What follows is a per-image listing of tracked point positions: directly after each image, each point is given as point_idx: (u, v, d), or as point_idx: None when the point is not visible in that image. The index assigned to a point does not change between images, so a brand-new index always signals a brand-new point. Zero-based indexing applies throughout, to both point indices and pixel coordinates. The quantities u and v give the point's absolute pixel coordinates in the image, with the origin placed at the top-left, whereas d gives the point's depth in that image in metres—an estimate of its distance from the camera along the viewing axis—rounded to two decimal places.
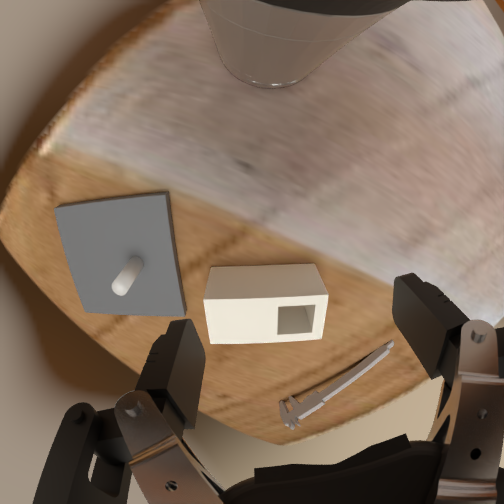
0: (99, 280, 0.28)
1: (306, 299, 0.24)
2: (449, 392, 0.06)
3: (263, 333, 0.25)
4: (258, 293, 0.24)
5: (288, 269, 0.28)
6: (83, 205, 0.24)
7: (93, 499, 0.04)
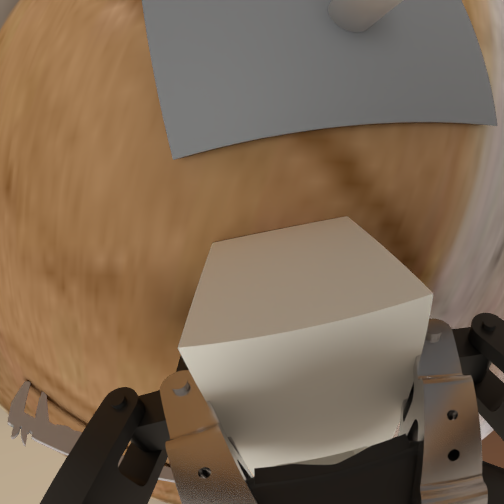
0: None
1: None
2: (411, 393, 0.06)
3: (277, 451, 0.07)
4: None
5: None
6: None
7: (118, 487, 0.04)
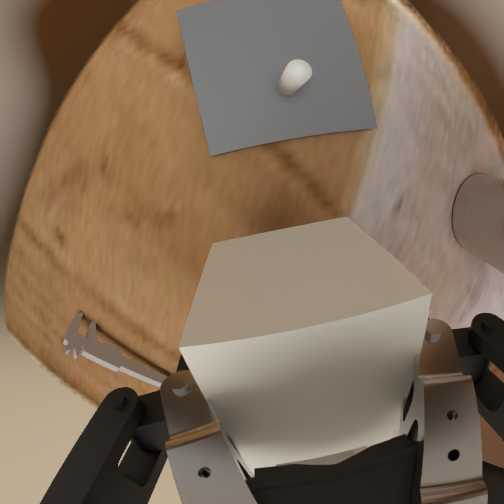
0: (244, 32, 0.16)
1: None
2: (411, 393, 0.06)
3: (277, 450, 0.07)
4: None
5: None
6: (349, 27, 0.16)
7: (118, 487, 0.04)
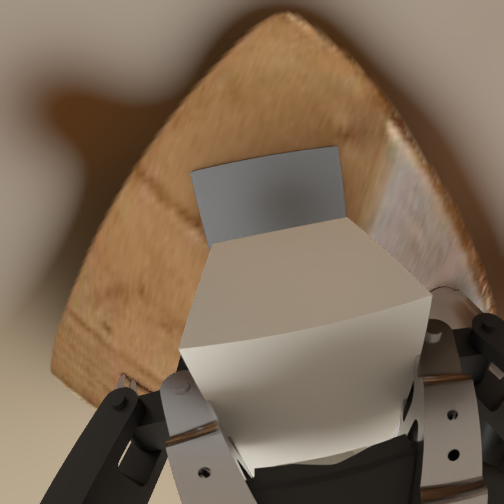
0: (249, 203, 0.26)
1: None
2: (411, 393, 0.06)
3: (277, 451, 0.07)
4: None
5: None
6: (342, 191, 0.25)
7: (118, 487, 0.04)
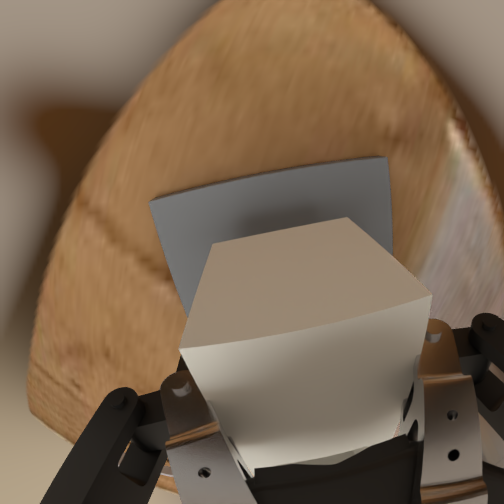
0: None
1: None
2: (411, 393, 0.06)
3: (277, 451, 0.07)
4: None
5: None
6: (390, 229, 0.15)
7: (118, 487, 0.04)
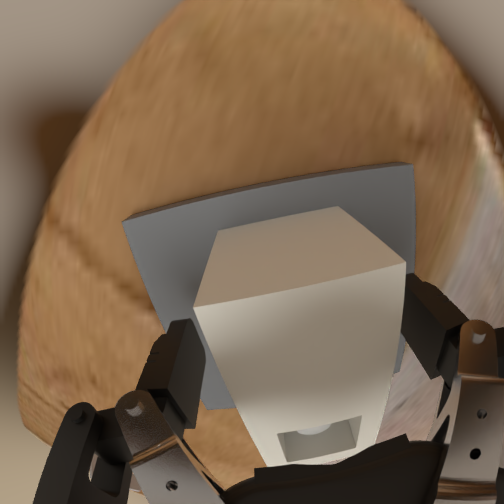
0: None
1: (370, 436, 0.09)
2: (448, 392, 0.06)
3: (278, 416, 0.08)
4: None
5: None
6: (412, 250, 0.12)
7: (93, 499, 0.04)
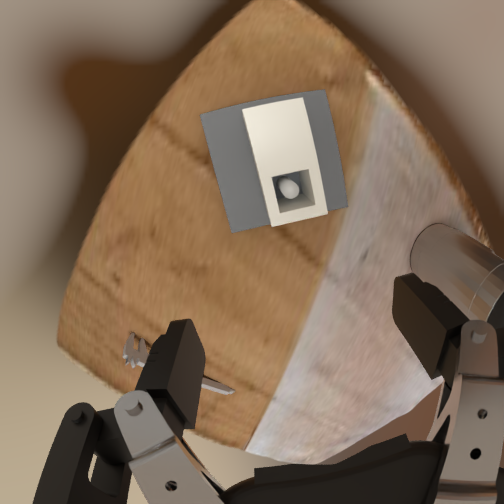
0: None
1: (320, 194, 0.24)
2: (449, 392, 0.06)
3: (270, 162, 0.23)
4: None
5: None
6: (332, 126, 0.27)
7: (93, 499, 0.04)
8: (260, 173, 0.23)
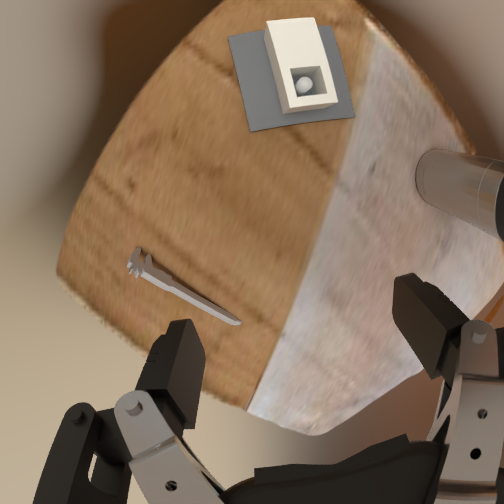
0: None
1: (330, 85, 0.24)
2: (449, 392, 0.06)
3: (289, 57, 0.23)
4: None
5: None
6: (338, 52, 0.27)
7: (93, 499, 0.04)
8: (280, 65, 0.24)
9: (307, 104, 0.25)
